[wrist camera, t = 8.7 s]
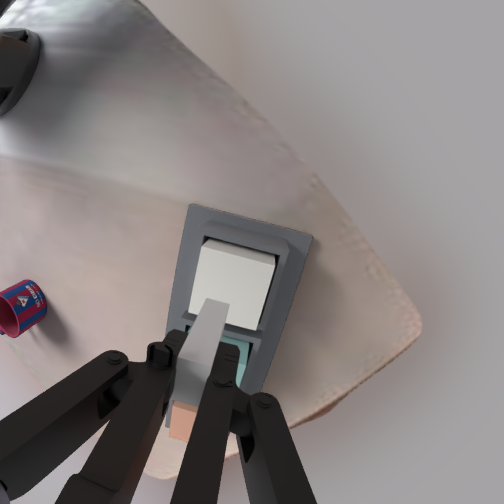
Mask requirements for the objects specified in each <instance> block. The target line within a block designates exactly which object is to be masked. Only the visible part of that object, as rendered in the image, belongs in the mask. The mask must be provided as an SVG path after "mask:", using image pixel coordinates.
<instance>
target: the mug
mask: <svg viewBox="0 0 504 504" xmlns="http://www.w3.org/2000/svg"><path fill="white" fill-rule="evenodd" d="M46 311H47V306H46V301H45V297H44V295H43V293H42V291H41V290H40V288H39V287H38V286H37V285H36V284H35V283H34V282H33V281H31V280H23V281H21V282H19V283H17V284H15V285H13V286H11V287H9V288H7V289H6V290H4V291H2V292H0V334H1V335H4V334H7V335H8V336H9V337H12V338H16V337H18V336H19V335H21V334H22V333H24V332H25V331H26V330H28V329H29V328H30V327H32V326H33V325H35V324H36V323H37V322H39V321H40V320H42V319H43V318H44V317H45V315H46Z"/></svg>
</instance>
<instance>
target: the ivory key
mask: <svg viewBox="0 0 504 504" xmlns="http://www.w3.org/2000/svg"><path fill="white" fill-rule="evenodd" d="M274 268H275V254H273V253H269V252H266V251H262V250H258V249H254V248H251V247H247V246H243V245H239V244H236V243H232V242H228V241H224V240H220V239H217V238H213V237H211V238H210V239H209V240H208V241H207V242H206V243H204V244H203V245H202V247H201V251H200V256H199V261H198V265H197V270H196V275H195V280H194V285H193V290H192V295H191V300H190V305H189V311H188V312H189V313H193V314H196V315H198V314H199V312H200V310H201V308H202V306H203V304H204V302H205V300H206V298H209V299H213V300H217V301H220V302H224V303H228V304H230V306H229V310H228V314H227V318H226V322H225V323H228V324H232V325H236V326H239V327H243V328H247V329H251V330H255V331H256V328H257V325H258V322H259V318H260V315H261V312H262V308H263V305H264V302H265V298H266V295H267V292H268V288H269V285H270V282H271V278H272V275H273V271H274Z"/></svg>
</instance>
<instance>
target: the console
mask: <svg viewBox="0 0 504 504" xmlns="http://www.w3.org/2000/svg"><path fill="white" fill-rule="evenodd" d="M211 237H213V238H217V239H220V240H224V241H228V242H232V243H236V244H239V245H243V246H247V247H251V248H254V249H258V250H262V251H266V252H269V253H273V254H275V268H274V271H273V275H272V278H271V282H270V285H269V288H268V292H267V295H266V298H265V302H264V305H263V308H262V312H261V315H260V318H259V322H258V325H257V328H256V331H255V330H251V329H247V328H243V327H239V326H236V325H232V324H228V323H225V326H224V330H223V334H222V335H224V336H228V337H232V338H236V339H240V340H243V341H247V342H249V349H248V356H247V363H246V368H245V371H244V374H243V377H242V380H241V383H240V386H239V389H241V390H242V391H243V392H245V393H247V394H249V395H251V396H252V395H253V394H255V393H259V392H260V390H261V388H262V385H263V382H264V380H265V377H266V374H267V372H268V369H269V366H270V364H271V361H272V358H273V355H274V353H275V350H276V347H277V344H278V341H279V339H280V336H281V333H282V330H283V327H284V324H285V321H286V318H287V315H288V312H289V309H290V307H291V304H292V301H293V297H294V294H295V291H296V288H297V285H298V282H299V279H300V276H301V273H302V270H303V266H304V263H305V260H306V257H307V254H308V250H309V247H310V244H311V240H312V235H310V234H307V233H303V232H299V231H296V230H292V229H288V228H285V227H281V226H277V225H274V224H270V223H266V222H263V221H259V220H255V219H251V218H247V217H244V216H240V215H236V214H232V213H228V212H224V211H220V210H216V209H212V208H208V207H204V206H200V205H196V204H189V206H188V211H187V216H186V220H185V225H184V230H183V235H182V240H181V245H180V250H179V255H178V260H177V266H176V271H175V277H174V283H173V288H172V294H171V301H170V307H169V313H168V320H167V327H166V334H165V337H166V335H167V333H168V332H169V331H171V330H173V329H177V330H180V331H184V332H188V330H189V328H190V327H191V326H193V324H194V322H195V320H196V318H197V316H198V315H196V314H193V313H189V312H188V311H189V305H190V300H191V295H192V290H193V285H194V280H195V275H196V270H197V265H198V261H199V256H200V251H201V247H202V245H203V244H204V243H206V242H207V241H208V240H209V239H210V238H211ZM171 398H172V395H171ZM171 398H170V400H169V407H168V410H167V415H166V424H165V427H168V428H170V422H171V414H172V407H173V404H174V402H175V400H172V399H171ZM229 434H230V431H229V433H228V436H229Z"/></svg>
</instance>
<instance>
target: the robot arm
mask: <svg viewBox="0 0 504 504" xmlns="http://www.w3.org/2000/svg"><path fill="white" fill-rule="evenodd" d="M15 1H16V0H0V18H1V17H2V16H3V14H4V13H5V12H6V11H7V10H8V9H9V7H10V6H11V5H12V4H13V3H14V2H15ZM39 52H40V41H39V37H38V36H37V34H36V33H34V32H32V31H30V30H28V29H25V28H6V29H0V115H2V114H4V113H6V112H7V111H8V110H10V109H11V108H12V107H13V106H14V105H15V103H16V102H17V101H18V100H19V98H20V97H21V96H22V94H23V92H24V91H25V89H26V87H27V86H28V84H29V82H30V80H31V78H32V75H33V73H34V71H35V68H36V65H37V62H38V58H39ZM229 306H230V304H228V303H224V302H220V301H217V300H213V299H209V298H206V300H205V302H204V304H203V306H202V308H201V310H200V312H199V314H198V316H197V318H196V320H195V322H194V324H193V326H192V328H191V330H190V332H189V333H187V332H184V331H180V330H177V329H173V330H171V331H169V332H168V333H167V335H166V337H165V338H164V340H163V342H153V343H150V344H149V345H148V347H147V359H146V362H131V361H128V360H129V359H128V357H127V356H126V355H125V354H124V353H122V352H120V351H116V350H109V351H106V352H104V353H102V354H100V355H99V356H97V357H96V358H94V359H93V360H91V361H90V362H88V363H87V364H85V365H84V366H82V367H81V368H79V369H78V370H76V371H75V372H73V373H72V374H70V375H69V376H67V377H66V378H64V379H63V380H61V381H60V382H58V383H57V384H55V385H54V386H52V387H51V388H49V389H48V390H46V391H45V392H43V393H42V394H40V395H38V396H37V397H35V398H34V399H33V400H31V401H29V402H28V403H26V404H25V405H23V406H22V407H21V408H19V409H17V410H16V411H14V412H13V413H11V414H10V415H8V416H7V417H5V418H4V419H2V420H1V421H0V504H10V501H12V500H14V499H17V498H19V497H20V496H22V495H24V494H25V493H27V492H28V491H29V490H31V489H32V488H33V487H34V486H35V485H37V484H38V483H39V482H40V481H41V480H42V479H43V478H45V477H46V476H47V475H48V474H49V473H51V472H52V471H53V470H54V469H55V468H56V467H57V466H58V465H60V464H61V463H62V462H63V461H64V460H65V459H67V458H68V457H69V456H70V455H71V454H72V453H73V452H74V451H76V450H77V449H78V448H79V447H80V446H81V445H82V444H83V443H85V442H86V441H87V440H88V439H89V438H90V437H91V436H92V435H93V434H95V433H96V432H97V431H98V430H99V429H100V428H101V427H102V426H103V425H104V424H106V423H107V422H108V421H109V420H110V421H109V423H108V424H107V426H106V428H105V429H104V431H103V433H102V435H101V436H100V438H99V440H98V442H97V443H96V445H95V447H94V449H93V450H92V452H91V454H90V456H89V457H88V459H87V461H86V463H85V465H84V466H83V468H82V470H81V471H80V472H79V473H78V474H73V475H72V476H71V477H70V478H69V479H68V481H67V483H66V484H65V486H64V488H63V489H62V491H61V493H60V495H59V497H58V499H57V500H56V502H55V504H130V503H131V501H132V498H133V495H134V493H135V490H136V488H137V485H138V482H139V480H140V477H141V475H142V472H143V470H144V467H145V465H146V462H147V460H148V457H149V455H150V452H151V450H152V447H153V444H154V442H155V439H156V437H157V434H158V432H159V430H160V427H161V425H162V422H163V420H164V417H165V415H166V412H167V410H168V407H169V400H170V398H171V395H172V398H171V399H172V400H175V401H178V402H182V403H185V404H188V405H192V406H195V407H198V411H197V414H196V417H195V421H194V424H193V427H192V431H191V434H190V437H189V441H188V444H187V447H186V451H185V454H184V458H183V461H182V464H181V468H180V471H179V475H178V478H177V481H176V485H175V488H174V492H173V495H172V499H171V502H170V504H217V499H218V493H219V487H220V481H221V475H222V469H223V463H224V457H225V451H226V445H227V439H228V433H229V431H230V432H232V433H234V434H236V439H237V444H238V449H239V454H240V459H241V464H242V469H243V474H244V478H245V483H246V487H247V491H248V496H249V501H250V504H317V502H316V500H315V497H314V494H313V492H312V489H311V487H310V484H309V482H308V479H307V476H306V474H305V471H304V469H303V466H302V463H301V461H300V458H299V456H298V453H297V450H296V448H295V445H294V442H293V440H292V437H291V434H290V432H289V429H288V426H287V423H286V421H285V418H284V415H283V413H282V410H281V407H280V404H279V402H278V400H277V399H276V398H275V397H274V396H272V395H270V394H268V393H263V392H259V393H255V394H253V395H252V396H251V395H249V394H247V393H245V392H243V391H242V390H241V389H239V387H238V386H237V384H236V376H237V370H238V364H239V358H240V350H239V348H238V346H237V345H233V344H229V343H226V342H222V341H221V338H222V334H223V330H224V326H225V322H226V318H227V314H228V310H229Z"/></svg>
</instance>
